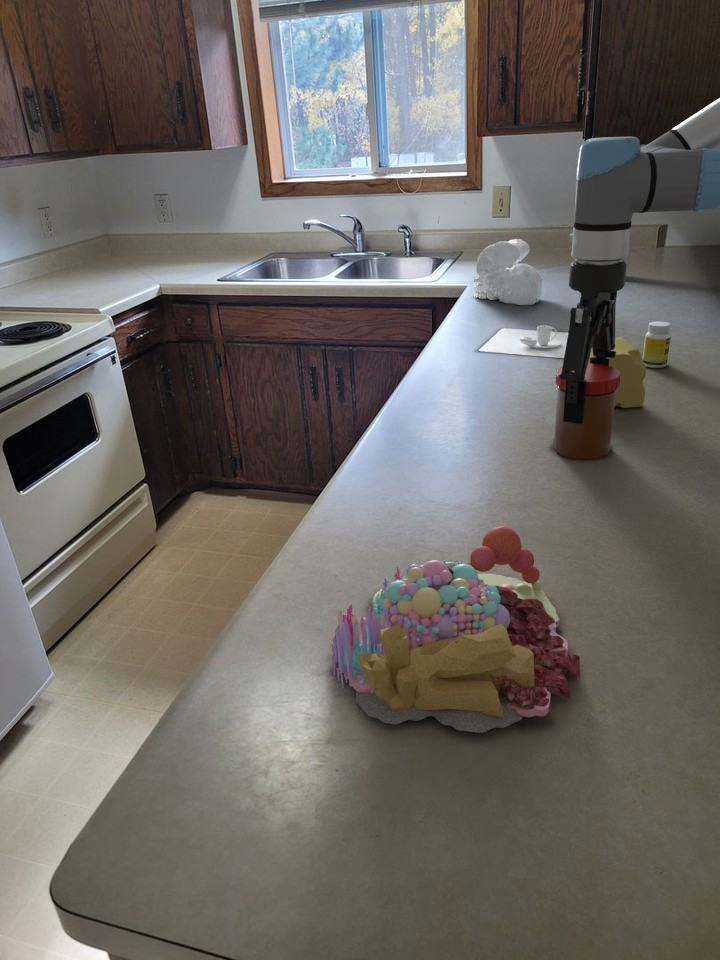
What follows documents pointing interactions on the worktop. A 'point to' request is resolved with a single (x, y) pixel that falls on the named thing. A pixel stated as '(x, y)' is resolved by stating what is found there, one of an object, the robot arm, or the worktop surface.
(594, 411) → the jam jar
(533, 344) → the teacup and saucer
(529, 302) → the white plaster sculpture
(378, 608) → the pastel sphere sculpture
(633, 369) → the cheese
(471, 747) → the worktop surface
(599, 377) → the lid
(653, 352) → the supplement bottle
